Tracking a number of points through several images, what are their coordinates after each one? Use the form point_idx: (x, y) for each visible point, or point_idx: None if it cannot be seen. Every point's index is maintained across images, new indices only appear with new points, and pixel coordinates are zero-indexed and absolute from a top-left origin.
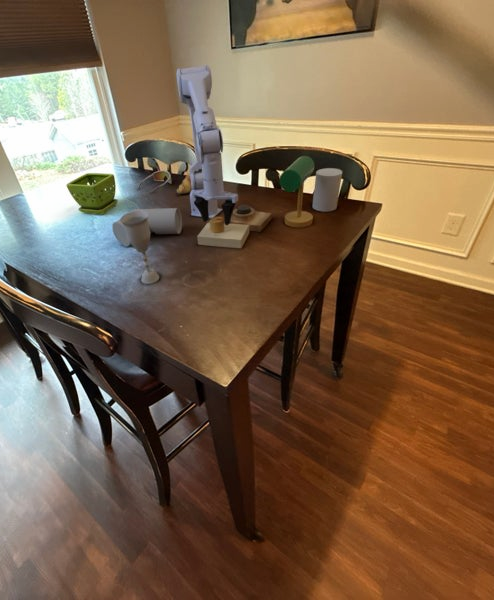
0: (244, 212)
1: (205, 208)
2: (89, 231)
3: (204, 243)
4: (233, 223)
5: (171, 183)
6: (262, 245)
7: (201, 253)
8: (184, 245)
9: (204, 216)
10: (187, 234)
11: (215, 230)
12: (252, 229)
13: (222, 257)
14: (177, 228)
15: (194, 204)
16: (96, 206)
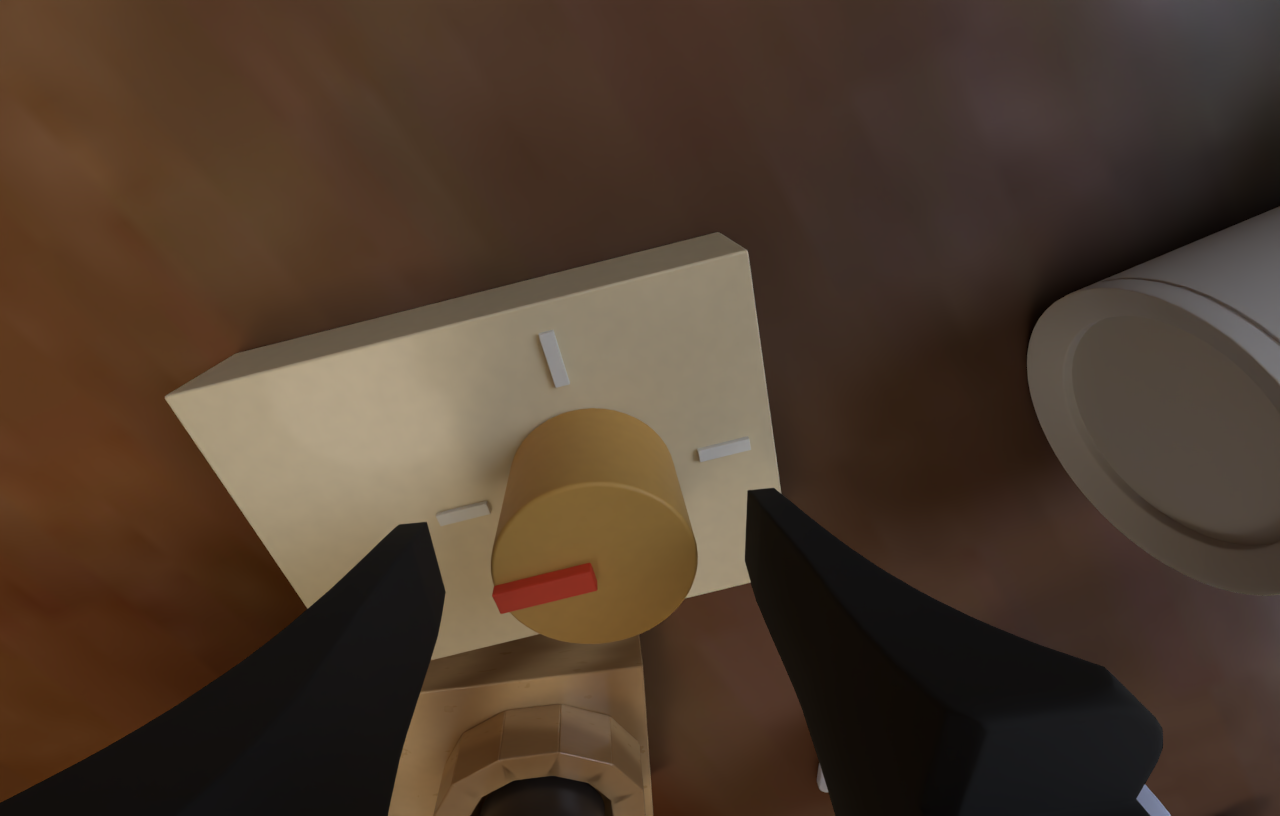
0: (500, 810)
1: (820, 680)
2: None
3: (644, 253)
4: (572, 660)
5: None
6: (108, 489)
7: (571, 62)
8: (870, 153)
9: (779, 543)
10: (939, 375)
11: (562, 427)
12: None
13: (270, 86)
14: (1090, 381)
15: (1088, 662)
16: None
